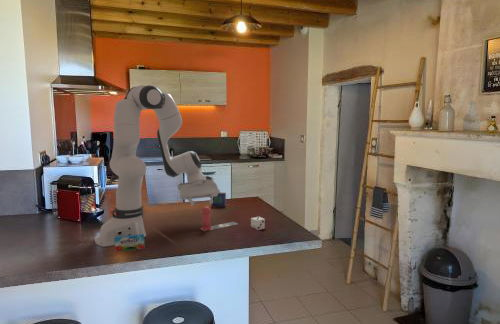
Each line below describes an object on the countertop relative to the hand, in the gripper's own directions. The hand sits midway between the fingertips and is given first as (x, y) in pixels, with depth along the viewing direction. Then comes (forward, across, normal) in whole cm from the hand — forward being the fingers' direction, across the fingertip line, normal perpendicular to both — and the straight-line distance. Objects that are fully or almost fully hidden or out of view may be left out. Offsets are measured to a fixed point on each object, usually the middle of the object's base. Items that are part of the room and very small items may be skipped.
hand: (202, 204), depth 179 cm
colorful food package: (+20, -38, -2) cm, 43 cm away
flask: (-16, +22, +34) cm, 43 cm away
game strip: (+12, +7, +5) cm, 15 cm away
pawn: (+12, 0, +4) cm, 13 cm away
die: (+18, +25, -1) cm, 31 cm away
